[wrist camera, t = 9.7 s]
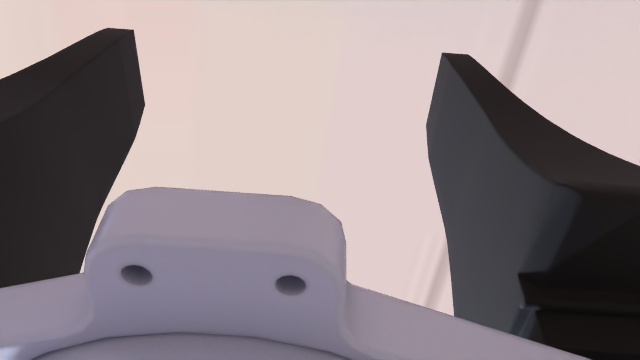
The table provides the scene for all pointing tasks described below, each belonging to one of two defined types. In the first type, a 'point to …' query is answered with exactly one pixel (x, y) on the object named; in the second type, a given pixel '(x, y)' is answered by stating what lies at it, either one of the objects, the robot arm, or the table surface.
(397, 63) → the table surface
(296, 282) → the robot arm
